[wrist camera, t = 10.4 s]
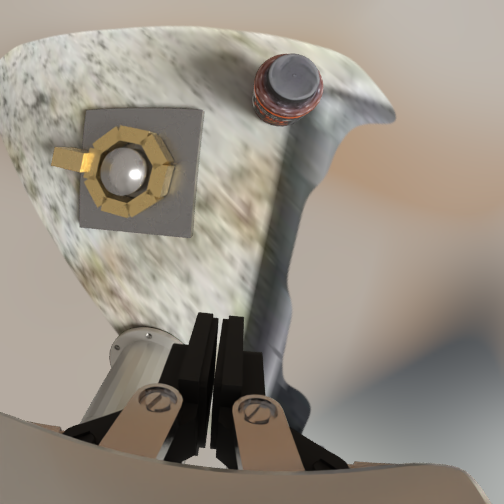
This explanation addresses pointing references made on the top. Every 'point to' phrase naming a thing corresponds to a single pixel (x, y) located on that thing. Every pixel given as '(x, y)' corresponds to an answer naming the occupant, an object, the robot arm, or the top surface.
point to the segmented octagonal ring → (94, 159)
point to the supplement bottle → (286, 89)
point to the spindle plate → (182, 177)
